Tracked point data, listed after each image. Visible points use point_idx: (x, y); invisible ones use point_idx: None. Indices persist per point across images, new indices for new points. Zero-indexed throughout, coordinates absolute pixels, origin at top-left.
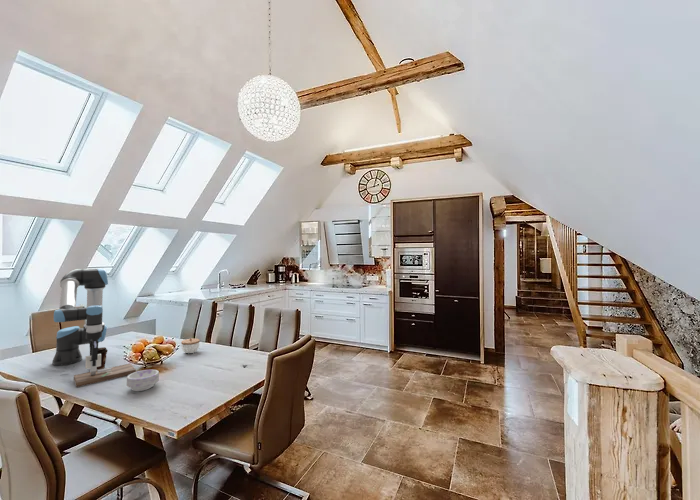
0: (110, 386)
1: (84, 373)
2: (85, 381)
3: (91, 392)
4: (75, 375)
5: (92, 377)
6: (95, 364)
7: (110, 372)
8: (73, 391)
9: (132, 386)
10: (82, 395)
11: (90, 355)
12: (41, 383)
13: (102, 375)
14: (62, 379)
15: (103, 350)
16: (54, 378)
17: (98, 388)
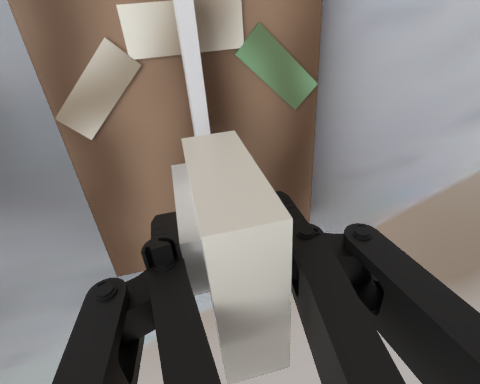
0: (458, 32)
1: (112, 222)
2: (309, 193)
3: (448, 140)
4: (131, 267)
5: (270, 160)
6: (292, 201)
7: (241, 13)
8: (351, 220)
9: None
10: (446, 176)
11: (223, 349)
12: None
13: (285, 91)
14: (80, 305)
15: None
16: (30, 343)
17: (422, 106)
